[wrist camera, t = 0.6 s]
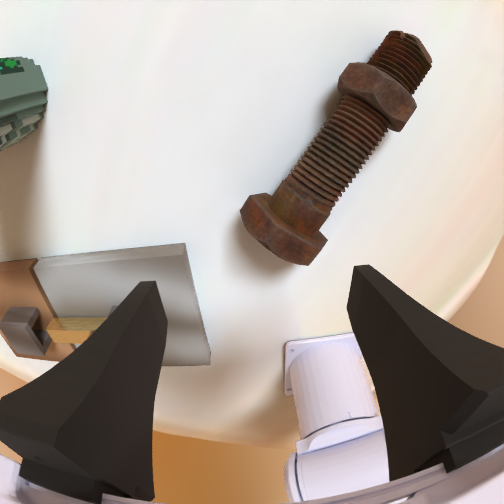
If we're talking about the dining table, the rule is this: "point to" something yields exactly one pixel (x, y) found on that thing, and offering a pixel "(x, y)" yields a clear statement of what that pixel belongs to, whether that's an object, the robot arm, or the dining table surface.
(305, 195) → the bolt
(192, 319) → the latch plate
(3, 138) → the can
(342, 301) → the dining table surface
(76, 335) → the slide bolt
